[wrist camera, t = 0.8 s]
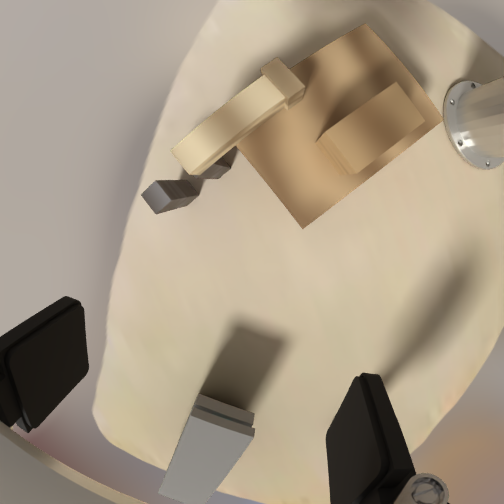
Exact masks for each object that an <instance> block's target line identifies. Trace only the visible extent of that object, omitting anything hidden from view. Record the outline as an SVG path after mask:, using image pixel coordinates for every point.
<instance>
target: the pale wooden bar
mask: <svg viewBox="0 0 504 504" xmlns="http://www.w3.org/2000/svg"><path fill="white" fill-rule="evenodd" d="M261 73H262V77H260V78H259V79H257V80H256V81H255V82H253V83H252V84H251V85H249V86H248V87H246V88H245V89H244V90H242V91H241V92H240V93H239V94H237V95H236V96H235V97H233V98H232V99H231V100H229V101H228V102H227V103H226V104H224V105H223V106H222V107H221V108H219V109H218V110H217V111H216V112H214V113H213V114H212V115H211V116H210V117H208V118H207V119H206V120H205V121H204V122H202V123H201V124H200V125H199V126H198V127H196V128H195V129H194V130H193V131H192V132H191V133H190V134H188V135H187V136H186V137H185V138H184V139H183V140H182V141H180V142H179V143H178V144H177V145H176V146H175V147H174V148H173V149H172V150H171V151H170V152H171V153H172V154H173V155H174V157H175V158H176V159H177V160H178V162H179V163H180V164H181V165H182V166H183V168H184V169H185V170H186V171H187V173H188V174H189V175H201V174H202V173H203V172H204V171H205V170H206V169H208V168H209V167H210V166H211V165H212V164H214V163H215V162H216V161H217V160H218V159H220V158H221V157H222V156H223V155H224V154H226V153H227V152H228V151H229V150H230V149H232V148H233V147H234V146H235V145H237V144H238V143H239V142H240V141H242V140H243V139H244V138H245V137H247V136H248V135H249V134H250V133H252V132H253V131H254V130H256V129H257V128H258V127H259V126H261V125H262V124H263V123H265V122H266V121H267V120H269V119H270V118H271V117H273V116H274V115H275V114H277V113H278V112H279V111H281V110H282V109H283V108H286V110H287V111H288V110H289V109H291V108H292V107H293V106H295V105H296V104H297V103H299V102H300V101H302V98H303V94H304V90H305V86H304V85H303V84H302V82H301V81H300V80H299V79H298V78H297V77H296V76H295V75H294V74H293V73H292V72H291V71H290V70H289V69H288V68H287V67H286V66H285V65H284V63H283V62H282V61H281V60H280V59H279V58H278V57H277V58H275V59H274V60H272V61H271V62H269V63H268V64H266V65H265V66H263V67H262V68H261Z"/></svg>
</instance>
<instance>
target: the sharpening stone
mask: <svg viewBox="0 0 504 504" xmlns="http://www.w3.org/2000/svg"><path fill="white" fill-rule="evenodd" d="M253 421H254V413H252V412H248V411H245V410H242V409H239V408H237V407H234V406H231V405H228V404H225V403H222V402H220V401H217V400H214V399H212V398H209V397H207V396H204V395H201V394H198V396H197V398H196V401H195V403H194V406H193V408H192V410H191V413H190V415H189V418H188V420H187V423H186V425H185V427H184V430H183V432H182V435H181V437H180V440H179V442H178V445H177V447H176V449H175V452H174V454H173V457H172V459H171V462H170V464H169V467H168V469H167V472H166V474H165V477H164V480H163V482H162V484H161V487H160V489H159V492H158V494H160V495H163V496H165V497H168V498H171V499H173V500H176V501H179V502H182V503H185V504H205V503H206V502H207V500H208V499H209V498H210V497H211V495H212V494H213V492H214V491H215V490H216V489H217V488H218V486H219V485H220V484H221V482H222V481H223V480H224V478H225V477H226V476H227V474H228V473H229V472H230V470H231V469H232V468H233V466H234V465H235V464H236V462H237V461H238V459H239V458H240V457H241V455H242V454H243V452H244V451H245V450H246V448H247V447H248V445H249V444H250V442H251V441H252V439H253V438H254V433H255V428H251V427H252V425H253Z"/></svg>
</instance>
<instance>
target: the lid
mask: <svg viewBox="0 0 504 504" xmlns="http://www.w3.org/2000/svg"><path fill="white" fill-rule="evenodd" d="M289 70H290V71H291V72H292V73H293V74H294V75H295V76H296V77H297V78H298V79H299V80H300V81H301V82H302V84H303V85H304V86H305V90H304V94H303V98H302V101H300V102H299V103H297V104H296V105H295V106H293V107H292V108H291V109H289V110H288V111H287V110H286V108H283V109H282V110H281V111H279V112H278V113H277V114H275V115H274V116H273V117H271V118H270V119H269V120H267V121H266V122H265V123H263V124H262V125H261V126H259V127H258V128H257V129H256V130H254V131H253V132H252V133H250V134H249V135H248V136H247V137H245V138H244V139H243V140H242V141H240V142H239V143H238V144H237V145H236V147H237V148H238V149H239V150H240V151H241V152H242V154H243V155H244V156H245V157H246V159H247V160H248V161H249V162H250V163H251V165H252V166H253V167H254V168H255V169H256V171H257V172H258V173H259V174H260V176H261V177H262V178H263V179H264V181H265V182H266V183H267V184H268V185H269V187H270V188H271V189H272V190H273V192H274V193H275V194H276V195H277V197H278V198H279V199H280V201H281V202H282V203H283V204H284V206H285V207H286V208H287V209H288V211H289V212H290V213H291V215H292V216H293V217H294V218H295V220H296V221H297V222H298V224H299V225H300V226H301V228H302V229H304V228H305V227H306V226H307V225H309V224H310V223H311V222H313V221H314V220H315V219H317V218H318V217H319V216H321V215H322V214H323V213H325V212H326V211H327V210H328V209H330V208H331V207H332V206H334V205H335V204H336V203H338V202H339V201H340V200H341V199H343V198H344V197H345V196H347V195H348V194H349V193H351V192H352V191H353V190H354V189H356V188H357V187H358V186H360V185H361V184H362V183H364V182H365V181H366V180H367V179H369V178H370V177H371V176H373V175H374V174H375V173H376V172H378V171H379V170H380V169H382V168H383V167H384V166H385V165H387V164H388V163H389V162H391V161H392V160H393V159H394V158H396V157H397V156H398V155H400V154H401V153H402V152H403V151H405V150H406V149H407V148H409V147H410V146H411V145H412V144H414V143H415V142H416V141H417V140H419V139H420V138H421V137H423V136H424V135H425V134H426V133H428V132H429V131H430V130H431V129H433V128H434V127H435V126H436V125H438V124H439V123H440V122H442V121H443V120H444V119H443V117H442V116H441V114H440V113H439V111H438V110H437V108H436V107H435V106H434V104H433V103H432V101H431V100H430V98H429V97H428V96H427V94H426V93H425V92H424V90H423V89H422V88H421V86H420V85H419V84H418V82H417V81H416V80H415V78H414V77H413V76H412V75H411V73H410V72H409V71H408V70H407V68H406V67H405V66H404V65H403V64H402V62H401V61H400V60H399V59H398V58H397V56H396V55H395V54H394V53H393V52H392V51H391V50H390V49H389V47H388V46H387V45H386V44H385V43H384V42H383V41H382V40H381V39H380V38H379V37H378V36H377V34H376V33H375V32H374V31H373V30H372V29H371V28H370V27H369V26H368V25H367V24H366V23H365V24H363V25H361V26H360V27H358V28H356V29H354V30H352V31H350V32H349V33H347V34H345V35H343V36H342V37H340V38H338V39H337V40H335V41H333V42H331V43H330V44H328V45H326V46H325V47H323V48H322V49H320V50H318V51H317V52H315V53H314V54H312V55H310V56H309V57H307V58H306V59H304V60H303V61H301V62H300V63H298V64H297V65H295V66H294V67H292V68H291V69H289Z"/></svg>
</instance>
